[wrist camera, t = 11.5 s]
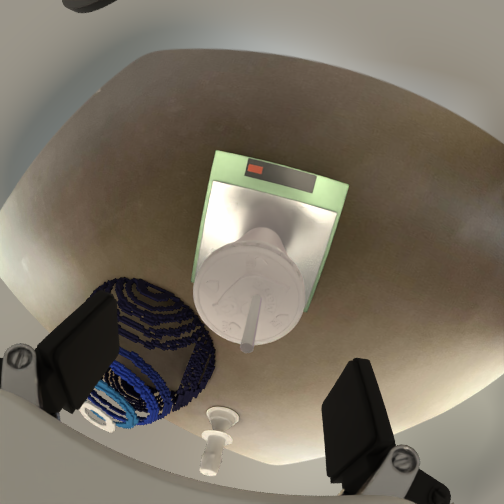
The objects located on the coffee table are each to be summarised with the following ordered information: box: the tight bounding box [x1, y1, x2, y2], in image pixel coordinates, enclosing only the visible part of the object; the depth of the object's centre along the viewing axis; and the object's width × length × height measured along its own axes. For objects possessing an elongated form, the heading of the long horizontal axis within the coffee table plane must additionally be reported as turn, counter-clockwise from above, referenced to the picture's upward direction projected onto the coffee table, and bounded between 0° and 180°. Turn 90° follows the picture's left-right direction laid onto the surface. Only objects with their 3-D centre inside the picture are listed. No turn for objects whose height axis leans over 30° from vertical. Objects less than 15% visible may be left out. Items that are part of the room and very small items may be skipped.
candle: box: [200, 407, 239, 476], centre depth 32 cm, size 5×5×12 cm
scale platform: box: [194, 180, 337, 308], centre depth 24 cm, size 10×11×1 cm
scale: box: [191, 150, 349, 312], centre depth 26 cm, size 13×12×3 cm
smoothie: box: [193, 227, 305, 353], centre depth 17 cm, size 6×6×14 cm
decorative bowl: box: [79, 277, 215, 432], centre depth 27 cm, size 20×20×14 cm
